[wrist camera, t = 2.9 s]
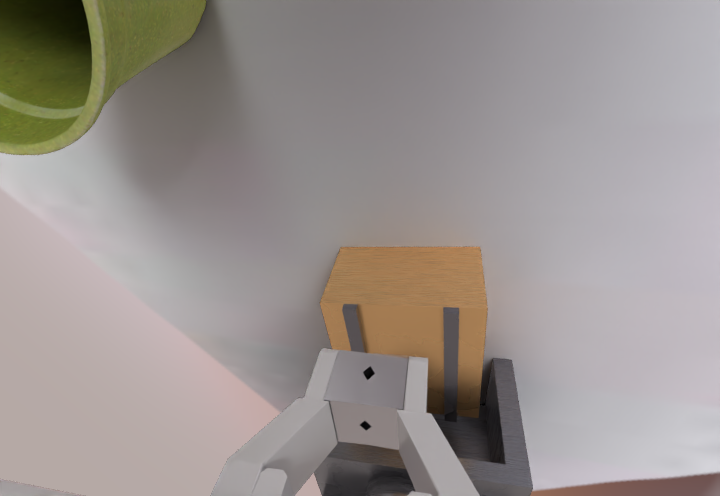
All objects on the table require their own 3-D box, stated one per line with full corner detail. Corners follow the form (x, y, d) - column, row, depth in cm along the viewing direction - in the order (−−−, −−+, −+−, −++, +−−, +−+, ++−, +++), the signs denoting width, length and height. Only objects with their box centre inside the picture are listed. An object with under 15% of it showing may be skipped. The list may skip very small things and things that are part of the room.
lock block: (341, 245, 23) (317, 308, 18) (479, 244, 21) (488, 314, 17) (361, 343, 28) (346, 411, 24) (473, 350, 26) (479, 424, 22)
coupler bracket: (338, 344, 28) (296, 491, 20) (511, 360, 26) (540, 534, 18) (349, 400, 32) (317, 540, 24) (498, 418, 30) (517, 579, 22)
